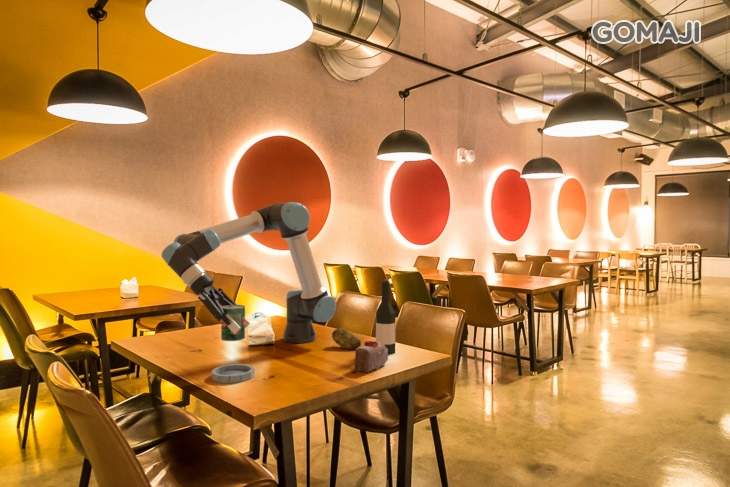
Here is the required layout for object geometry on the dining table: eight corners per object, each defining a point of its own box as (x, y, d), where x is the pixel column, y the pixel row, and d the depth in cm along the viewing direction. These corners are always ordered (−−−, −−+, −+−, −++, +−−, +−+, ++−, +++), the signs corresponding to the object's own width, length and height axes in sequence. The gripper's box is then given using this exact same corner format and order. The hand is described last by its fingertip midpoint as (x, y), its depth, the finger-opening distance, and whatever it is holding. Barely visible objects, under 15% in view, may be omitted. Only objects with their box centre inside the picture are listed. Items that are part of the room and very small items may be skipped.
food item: (371, 361, 178) (371, 336, 178) (389, 364, 174) (389, 338, 174) (352, 370, 166) (352, 343, 166) (371, 374, 162) (371, 346, 162)
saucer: (251, 368, 168) (251, 362, 168) (256, 380, 155) (256, 373, 155) (210, 373, 163) (210, 366, 163) (213, 385, 150) (212, 378, 150)
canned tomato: (249, 337, 160) (250, 306, 160) (232, 342, 153) (232, 309, 153) (234, 335, 164) (234, 304, 164) (216, 339, 157) (216, 307, 157)
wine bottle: (397, 350, 194) (398, 279, 193) (392, 355, 186) (392, 281, 186) (378, 349, 197) (379, 278, 196) (372, 353, 189) (372, 280, 188)
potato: (348, 352, 192) (348, 333, 191) (328, 346, 201) (328, 328, 201) (363, 348, 197) (363, 330, 197) (343, 343, 207) (343, 325, 206)
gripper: (205, 284, 171) (246, 329, 169) (174, 291, 150) (222, 342, 148) (218, 270, 170) (260, 315, 168) (190, 275, 149) (237, 326, 147)
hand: (242, 328), depth 158 cm, fingers closed on canned tomato, 8 cm apart
